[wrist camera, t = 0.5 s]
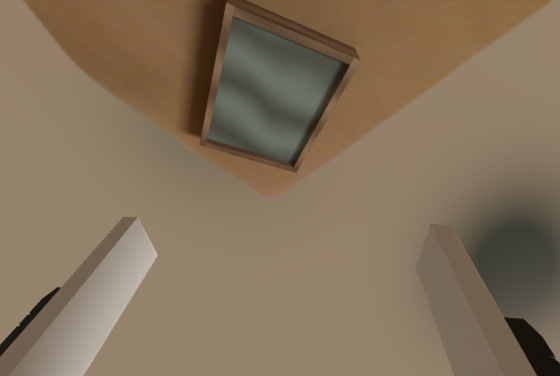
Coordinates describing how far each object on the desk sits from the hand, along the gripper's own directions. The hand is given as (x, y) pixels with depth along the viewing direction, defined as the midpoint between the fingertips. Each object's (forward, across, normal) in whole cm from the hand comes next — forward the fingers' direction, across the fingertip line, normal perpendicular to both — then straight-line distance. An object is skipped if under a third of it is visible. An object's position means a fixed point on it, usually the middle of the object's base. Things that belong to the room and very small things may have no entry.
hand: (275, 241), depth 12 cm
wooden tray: (+27, -4, -1) cm, 27 cm away
